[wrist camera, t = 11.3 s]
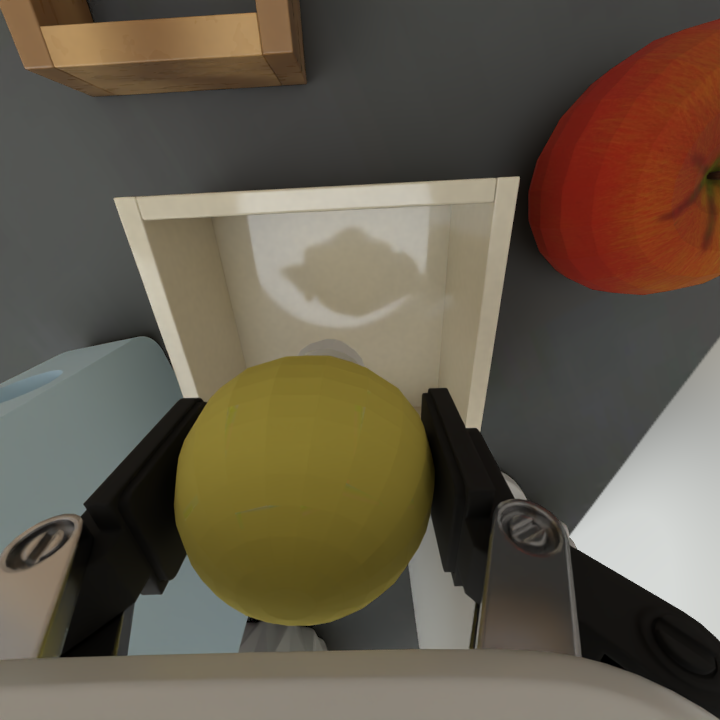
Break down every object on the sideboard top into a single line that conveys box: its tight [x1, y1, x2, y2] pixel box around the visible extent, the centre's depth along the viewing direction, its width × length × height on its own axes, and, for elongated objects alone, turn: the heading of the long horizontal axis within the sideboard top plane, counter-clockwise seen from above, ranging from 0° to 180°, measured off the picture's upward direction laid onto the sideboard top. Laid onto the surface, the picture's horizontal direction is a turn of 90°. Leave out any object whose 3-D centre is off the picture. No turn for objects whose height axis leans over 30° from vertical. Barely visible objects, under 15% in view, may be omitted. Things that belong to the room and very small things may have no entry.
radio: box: [0, 336, 248, 656], centre depth 20 cm, size 23×6×13 cm, turn 12°
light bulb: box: [174, 339, 435, 626], centre depth 10 cm, size 7×7×10 cm
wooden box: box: [114, 176, 520, 431], centre depth 17 cm, size 15×15×7 cm
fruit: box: [528, 19, 720, 295], centre depth 13 cm, size 10×10×10 cm
